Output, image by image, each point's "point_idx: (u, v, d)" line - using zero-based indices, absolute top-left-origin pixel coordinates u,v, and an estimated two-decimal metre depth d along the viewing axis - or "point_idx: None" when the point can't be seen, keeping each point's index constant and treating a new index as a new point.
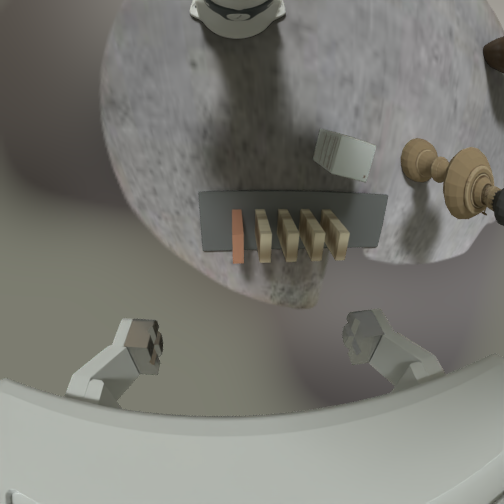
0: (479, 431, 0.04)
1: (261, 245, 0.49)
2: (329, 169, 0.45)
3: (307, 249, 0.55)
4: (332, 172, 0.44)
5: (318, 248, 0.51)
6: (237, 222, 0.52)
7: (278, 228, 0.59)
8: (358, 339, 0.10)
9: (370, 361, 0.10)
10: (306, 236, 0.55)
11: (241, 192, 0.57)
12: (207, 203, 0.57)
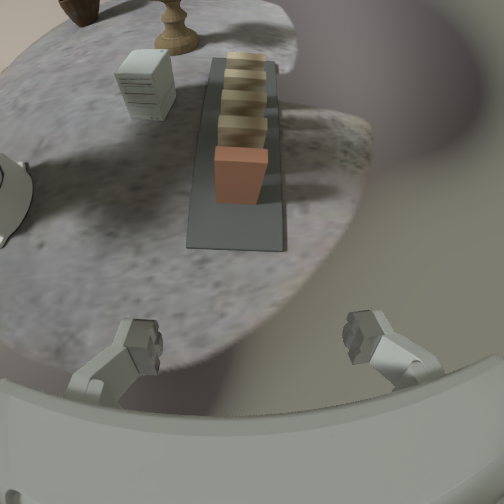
0: (479, 430, 0.04)
1: (237, 126, 0.30)
2: (150, 78, 0.33)
3: None
4: (150, 73, 0.32)
5: (246, 73, 0.33)
6: None
7: None
8: (358, 339, 0.10)
9: (370, 362, 0.10)
10: None
11: (192, 190, 0.41)
12: (203, 235, 0.39)
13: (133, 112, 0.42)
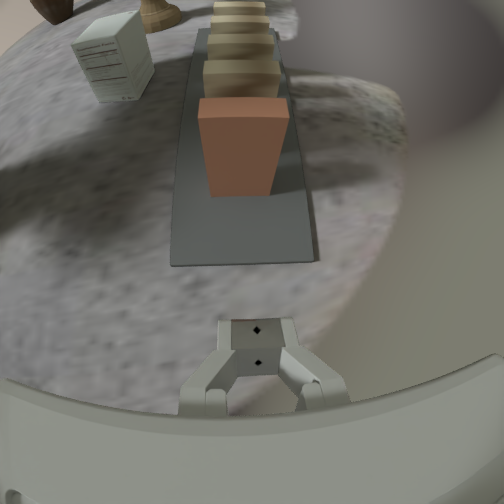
0: (479, 430, 0.04)
1: (233, 71, 0.17)
2: (114, 42, 0.21)
3: None
4: (114, 34, 0.20)
5: (242, 18, 0.20)
6: None
7: None
8: None
9: (279, 374, 0.10)
10: None
11: (176, 182, 0.28)
12: (194, 246, 0.26)
13: (100, 94, 0.30)
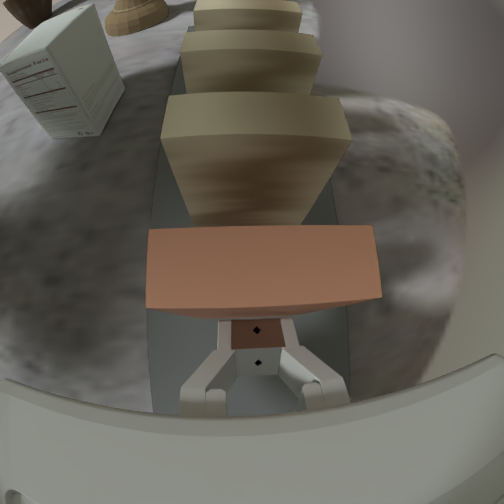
0: (479, 431, 0.04)
1: (236, 129, 0.08)
2: (48, 58, 0.11)
3: None
4: (46, 45, 0.10)
5: (251, 3, 0.10)
6: None
7: None
8: None
9: (279, 374, 0.10)
10: None
11: None
12: None
13: (50, 128, 0.20)
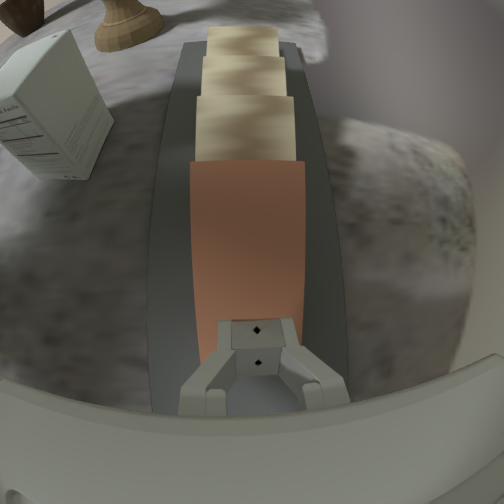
0: (479, 431, 0.04)
1: None
2: (17, 105, 0.10)
3: None
4: (13, 92, 0.09)
5: None
6: None
7: None
8: None
9: (279, 374, 0.10)
10: None
11: (151, 362, 0.17)
12: None
13: (35, 170, 0.19)
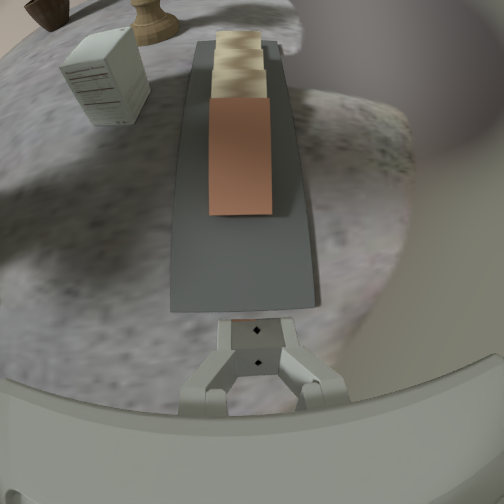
0: (479, 431, 0.04)
1: (233, 70, 0.25)
2: (104, 65, 0.20)
3: None
4: (103, 57, 0.19)
5: None
6: None
7: None
8: None
9: (279, 374, 0.10)
10: None
11: (174, 222, 0.27)
12: (194, 293, 0.26)
13: (93, 117, 0.29)
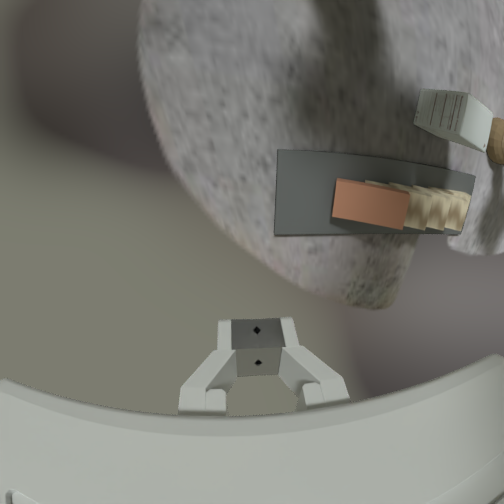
0: (479, 430, 0.04)
1: (429, 210, 0.37)
2: (455, 131, 0.27)
3: (447, 224, 0.40)
4: (460, 134, 0.26)
5: None
6: (378, 186, 0.38)
7: None
8: None
9: (279, 374, 0.10)
10: None
11: (335, 154, 0.39)
12: (289, 166, 0.40)
13: (426, 94, 0.32)
